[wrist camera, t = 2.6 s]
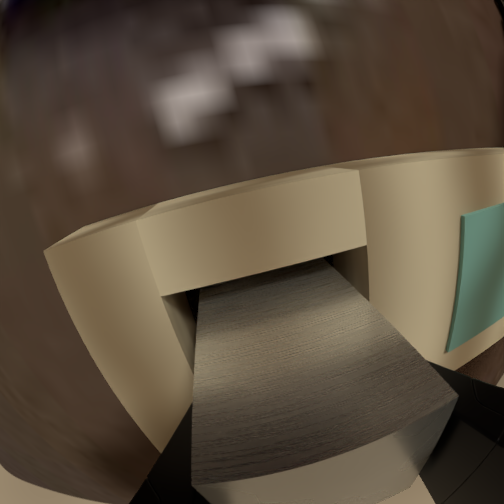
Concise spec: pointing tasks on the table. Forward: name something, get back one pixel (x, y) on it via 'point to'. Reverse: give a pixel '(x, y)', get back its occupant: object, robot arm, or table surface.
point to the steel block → (307, 393)
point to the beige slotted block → (288, 253)
